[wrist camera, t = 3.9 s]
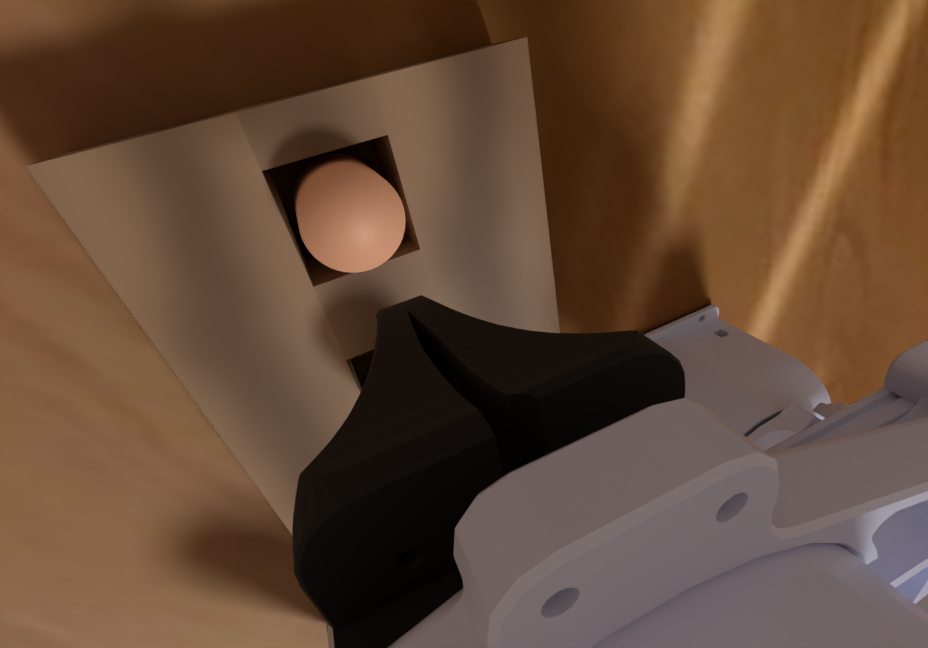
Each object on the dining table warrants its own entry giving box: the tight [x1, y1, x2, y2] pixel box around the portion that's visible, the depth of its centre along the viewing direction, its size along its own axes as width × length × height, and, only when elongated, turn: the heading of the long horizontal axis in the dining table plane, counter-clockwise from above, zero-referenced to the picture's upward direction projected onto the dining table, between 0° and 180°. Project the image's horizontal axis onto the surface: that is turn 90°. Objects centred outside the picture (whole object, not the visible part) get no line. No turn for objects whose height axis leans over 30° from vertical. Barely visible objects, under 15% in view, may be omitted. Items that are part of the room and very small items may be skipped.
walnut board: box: [25, 37, 560, 534], centre depth 22 cm, size 16×24×3 cm, turn 13°
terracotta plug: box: [293, 154, 406, 273], centre depth 17 cm, size 4×4×4 cm
